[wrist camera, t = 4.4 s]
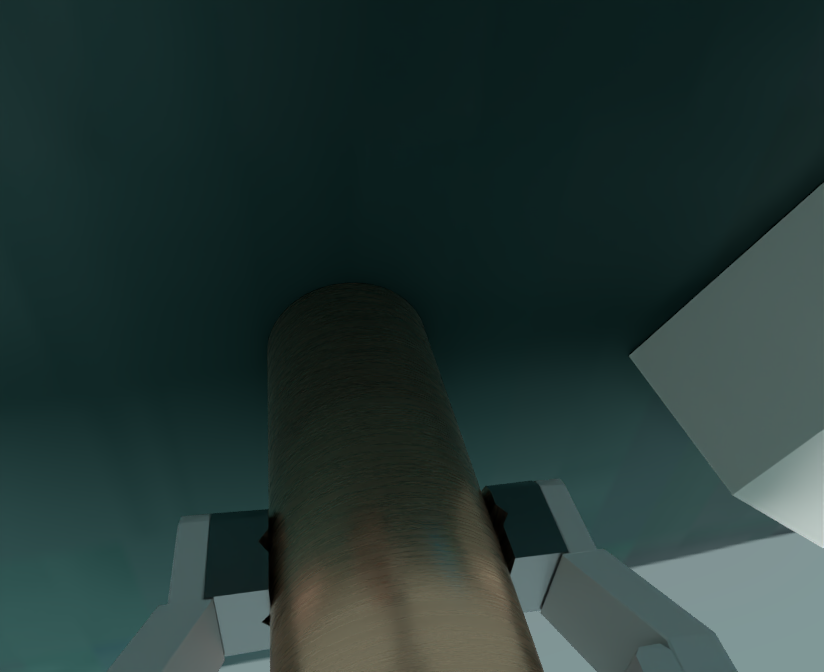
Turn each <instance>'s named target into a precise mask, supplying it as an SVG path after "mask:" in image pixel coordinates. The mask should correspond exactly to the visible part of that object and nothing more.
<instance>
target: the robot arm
mask: <svg viewBox="0 0 824 672" xmlns="http://www.w3.org/2000/svg"><path fill="white" fill-rule="evenodd" d="M482 496H483V499H484V501H485V504H486V507H487V510H488V513H489V516H490V519H491V522H492V524H493V527H494V530H495V533H496V536H497V539H498V542H499V544H500V547H501V550H502V553H503V556H504V559H505V562H506V565H507V567H508V570H509V573H510V576H511V579H512V582H513V585H514V588H515V590H516V593H517V596H518V599H519V602H520V605H521V608H522V611H523V612H532V611H540V610H541V614H542V615H543V616H544V617H545V618H546V619H547V620H548V621H549V622H550V623H551V624H552V625H553V626H554V627H555V628H556V629H557V631H558V632H559V633H560V634H561V635H562V636H563V637H564V638H565V639H566V640H567V641H568V642H569V643H570V644H571V645H572V646H573V647H574V648H575V649H576V650H577V651H578V652H579V653H580V654H581V656H582V657H583V658H584V659H585V660H586V661H587V662H588V663H589V664H590V665H591V666H592V667H593V668H594V669H595V670H596V671H597V672H738V671H737V670H736V668H735V666H734V665H733V663H732V661H731V659H730V658H729V656H728V654H727V653H726V651H725V649H724V648H723V646H722V644H721V643H720V641H719V639H718V637H717V636H716V634H715V633H714V632H713V631H712V630H710V629H709V628H708V627H706V626H705V625H704V624H703V623H701V622H700V621H698V620H697V619H696V618H695V617H693V616H692V615H691V614H689V613H688V612H687V611H685V610H684V609H683V608H681V607H680V606H679V605H677V604H676V603H675V602H673V601H672V600H671V599H669V598H668V597H667V596H666V595H664V594H663V593H662V592H660V591H659V590H658V589H656V588H655V587H654V586H652V585H651V584H650V583H648V582H647V581H646V580H644V579H643V578H642V577H641V576H639V575H638V574H637V573H635V572H634V571H633V570H631V569H630V568H629V567H627V566H626V565H625V564H623V563H622V562H621V561H619V560H618V559H617V558H616V557H614V556H613V555H612V554H610V553H609V552H608V551H606V550H605V549H596V547H595V545H594V543H593V541H592V539H591V537H590V535H589V533H588V530H587V528H586V526H585V524H584V522H583V520H582V518H581V516H580V514H579V512H578V510H577V508H576V506H575V504H574V502H573V500H572V498H571V496H570V494H569V492H568V490H567V488H566V486H565V484H564V483H563V482H562V481H561V480H560V479H549V480H540V481H524V482H516V483H507V484H499V485H490V486H485V487H484V488H483V490H482ZM269 555H270V516H269V509H265V510H252V511H239V512H226V513H213V514H201V515H191V516H181V518H180V521H179V524H178V528H177V536H176V543H175V551H174V559H173V566H172V574H171V582H170V589H169V597H168V604H165V605H159V606H158V607H157V608H156V609H155V611H154V612H153V613H152V614H151V616H150V617H149V618H148V620H147V621H146V622H145V623H144V625H143V626H142V627H141V628H140V630H139V631H138V632H137V634H136V635H135V636H134V637H133V639H132V640H131V641H130V642H129V644H128V645H127V646H126V648H125V649H124V650H123V651H122V653H121V654H120V655H119V657H118V658H117V659H116V660H115V662H114V663H113V664H112V665H111V667H110V668H109V669H108V671H107V672H218V671H219V669H220V667H221V666H222V664H223V662H224V660H225V659H224V657H225V656H231V655H236V654H242V653H248V652H254V651H259V650H265V649H270V611H271V572H270V562H269Z"/></svg>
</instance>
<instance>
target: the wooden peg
mask: <svg viewBox="0 0 824 672" xmlns="http://www.w3.org/2000/svg"><path fill="white" fill-rule="evenodd" d="M267 364H268V476H269V516H270V555H269V562H270V572H271V611H270V672H544V671H543V668H542V665H541V663H540V660H539V656H538V654H537V651H536V648H535V645H534V642H533V639H532V636H531V634H530V631H529V628H528V625H527V622H526V619H525V616H524V614H523V611H522V608H521V605H520V602H519V599H518V596H517V593H516V590H515V588H514V585H513V582H512V579H511V576H510V573H509V570H508V567H507V565H506V562H505V559H504V556H503V553H502V550H501V547H500V544H499V542H498V539H497V536H496V533H495V530H494V527H493V524H492V522H491V519H490V516H489V513H488V510H487V507H486V504H485V501H484V499H483V496H482V493H481V490H480V487H479V484H478V481H477V478H476V476H475V473H474V470H473V467H472V464H471V461H470V458H469V455H468V453H467V450H466V447H465V444H464V441H463V438H462V435H461V433H460V430H459V427H458V424H457V421H456V418H455V415H454V412H453V410H452V407H451V404H450V401H449V398H448V395H447V392H446V389H445V387H444V384H443V381H442V378H441V375H440V372H439V369H438V366H437V364H436V361H435V358H434V355H433V352H432V349H431V346H430V344H429V341H428V338H427V335H426V332H425V329H424V326H423V324H422V321H421V319H420V317H419V315H418V313H417V312H416V311H415V309H414V308H413V307H412V306H411V305H410V304H409V303H408V302H407V301H406V300H405V299H403V298H402V297H401V296H399V295H398V294H396V293H394V292H392V291H390V290H388V289H385V288H382V287H379V286H375V285H370V284H363V283H343V284H335V285H331V286H327V287H323V288H320V289H318V290H315V291H313V292H310V293H308V294H306V295H304V296H303V297H301V298H300V299H298V300H297V301H295V302H294V303H293V304H292V305H290V306H289V307H288V308H287V309H286V310H285V311H284V312H283V313H282V314H281V316H280V317H279V318H278V320H277V321H276V323H275V325H274V327H273V329H272V331H271V333H270V337H269V340H268V348H267Z"/></svg>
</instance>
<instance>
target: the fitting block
mask: <svg viewBox="0 0 824 672" xmlns="http://www.w3.org/2000/svg"><path fill="white" fill-rule="evenodd" d="M629 357H630V358H631V360H632V361H633V362H634V364H635V365H636V366H637V368H638V369H639V370H640V372H641V373H642V374H643V376H644V377H645V378H646V380H647V381H648V383H649V384H650V385H651V387H652V388H653V389H654V391H655V392H656V393H657V395H658V396H659V397H660V399H661V400H662V401H663V403H664V404H665V405H666V407H667V408H668V409H669V411H670V412H671V413H672V415H673V416H674V417H675V419H676V420H677V421H678V423H679V424H680V425H681V427H682V428H683V429H684V431H685V432H686V433H687V435H688V436H689V437H690V439H691V440H692V442H693V443H694V444H695V446H696V447H697V448H698V450H699V451H700V452H701V454H702V455H703V456H704V458H705V459H706V460H707V462H708V463H709V464H710V466H711V467H712V468H713V470H714V471H715V472H716V474H717V475H718V476H719V478H720V479H721V480H722V482H723V483H724V484H725V486H726V487H727V488H728V490H729V491H730V492H731V494H732V495H733V496H735V497H737V498H738V499H740V500H742V501H743V502H745V503H747V504H748V505H750V506H752V507H754V508H755V509H757V510H759V511H760V512H762V513H764V514H766V515H767V516H769V517H771V518H772V519H774V520H776V521H777V522H779V523H781V524H783V525H784V526H786V527H788V528H789V529H791V530H793V531H794V532H796V533H798V534H800V535H801V536H803V537H805V538H806V539H808V540H810V541H811V542H813V543H815V544H817V545H818V546H820V547H822V548H823V549H824V183H823V184H821V185H820V186H819V187H818V188H817V189H816V190H815V191H814V192H812V193H811V194H810V195H809V196H808V197H807V198H806V199H805V200H803V201H802V202H801V203H800V204H799V205H798V206H797V207H796V208H794V209H793V210H792V211H791V212H790V213H789V214H788V215H787V216H785V217H784V218H783V219H782V220H781V221H780V222H779V223H778V224H776V225H775V226H774V227H773V228H772V229H771V230H770V231H769V232H767V233H766V234H765V235H764V236H763V237H762V238H761V239H760V240H758V241H757V242H756V243H755V244H754V245H753V246H752V247H751V248H750V249H748V250H747V251H746V252H745V253H744V254H743V255H742V256H741V257H739V258H738V259H737V260H736V261H735V262H734V263H733V264H732V265H730V266H729V267H728V268H727V269H726V270H725V271H724V272H723V273H721V274H720V275H719V276H718V277H717V278H716V279H715V280H714V281H712V282H711V283H710V284H709V285H708V286H707V287H706V288H705V289H703V290H702V291H701V292H700V293H699V294H698V295H697V296H696V297H694V298H693V299H692V300H691V301H690V302H689V303H688V304H687V305H685V306H684V307H683V308H682V309H681V310H680V311H679V312H678V313H676V314H675V315H674V316H673V317H672V318H671V319H670V320H669V321H667V322H666V323H665V324H664V325H663V326H662V327H661V328H660V329H658V330H657V331H656V332H655V333H654V334H653V335H652V336H651V337H649V338H648V339H647V340H646V341H645V342H644V343H643V344H642V345H640V346H639V347H638V348H637V349H636V350H635V351H634V352H633V353H631V354H630V355H629Z"/></svg>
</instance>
